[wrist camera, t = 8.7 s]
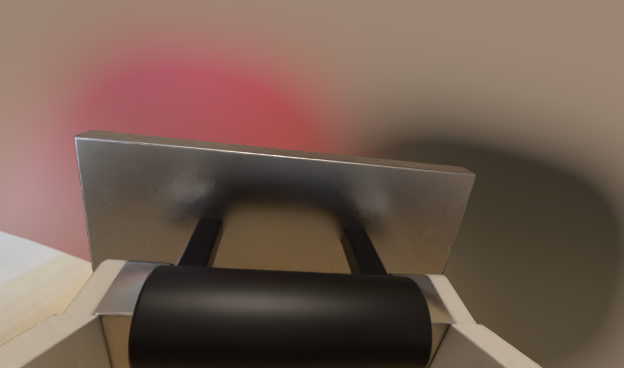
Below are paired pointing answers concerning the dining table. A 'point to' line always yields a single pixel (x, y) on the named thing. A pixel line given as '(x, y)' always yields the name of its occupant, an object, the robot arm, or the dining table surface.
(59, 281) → the dining table surface
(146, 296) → the tin lid
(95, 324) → the robot arm
